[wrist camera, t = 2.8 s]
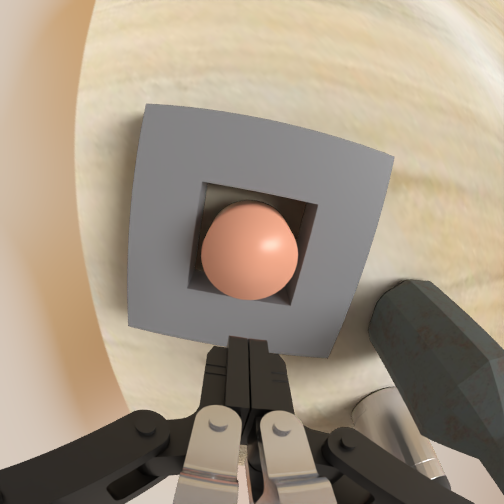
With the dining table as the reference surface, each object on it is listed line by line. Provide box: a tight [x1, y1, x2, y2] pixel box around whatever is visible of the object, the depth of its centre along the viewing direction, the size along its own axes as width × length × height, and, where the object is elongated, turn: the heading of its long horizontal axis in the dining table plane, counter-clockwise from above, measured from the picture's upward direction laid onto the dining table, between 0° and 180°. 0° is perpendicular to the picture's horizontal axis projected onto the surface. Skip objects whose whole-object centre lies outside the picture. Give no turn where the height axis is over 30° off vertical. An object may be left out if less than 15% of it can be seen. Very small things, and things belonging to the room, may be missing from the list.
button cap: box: [201, 200, 298, 300], centre depth 22 cm, size 7×7×4 cm
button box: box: [127, 104, 394, 358], centre depth 24 cm, size 20×20×4 cm
